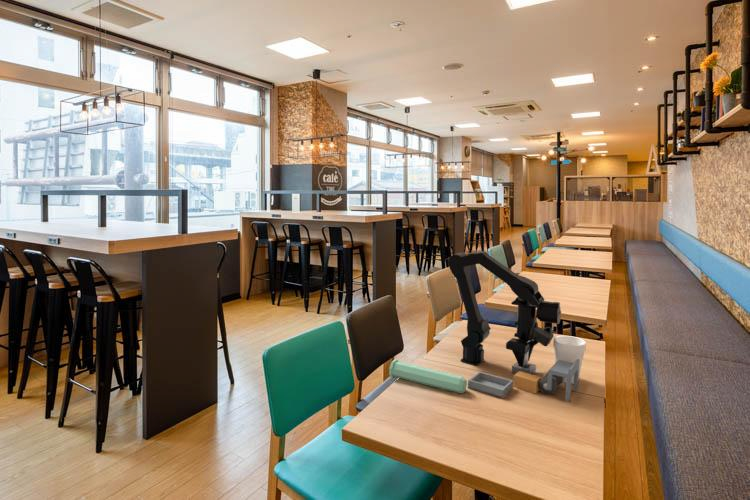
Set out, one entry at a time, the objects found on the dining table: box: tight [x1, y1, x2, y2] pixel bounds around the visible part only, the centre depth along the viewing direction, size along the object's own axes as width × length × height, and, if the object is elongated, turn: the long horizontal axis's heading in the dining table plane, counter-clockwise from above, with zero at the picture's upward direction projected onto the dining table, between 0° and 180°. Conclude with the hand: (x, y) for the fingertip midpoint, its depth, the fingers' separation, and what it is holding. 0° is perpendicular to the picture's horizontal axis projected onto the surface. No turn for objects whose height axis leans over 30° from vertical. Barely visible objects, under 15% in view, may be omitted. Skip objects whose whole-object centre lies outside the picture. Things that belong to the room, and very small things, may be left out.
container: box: [388, 359, 468, 394], centre depth 139 cm, size 6×6×25 cm
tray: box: [467, 371, 514, 399], centre depth 136 cm, size 11×8×2 cm
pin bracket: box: [511, 361, 537, 375], centre depth 147 cm, size 6×6×2 cm
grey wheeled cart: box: [538, 359, 580, 402], centre depth 133 cm, size 9×10×10 cm
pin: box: [523, 351, 529, 368], centre depth 147 cm, size 2×2×8 cm
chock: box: [513, 371, 542, 394], centre depth 136 cm, size 7×4×4 cm, turn 49°
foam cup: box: [553, 335, 587, 384], centre depth 141 cm, size 10×9×13 cm
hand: (524, 363), depth 147 cm, fingers open, 5 cm apart
